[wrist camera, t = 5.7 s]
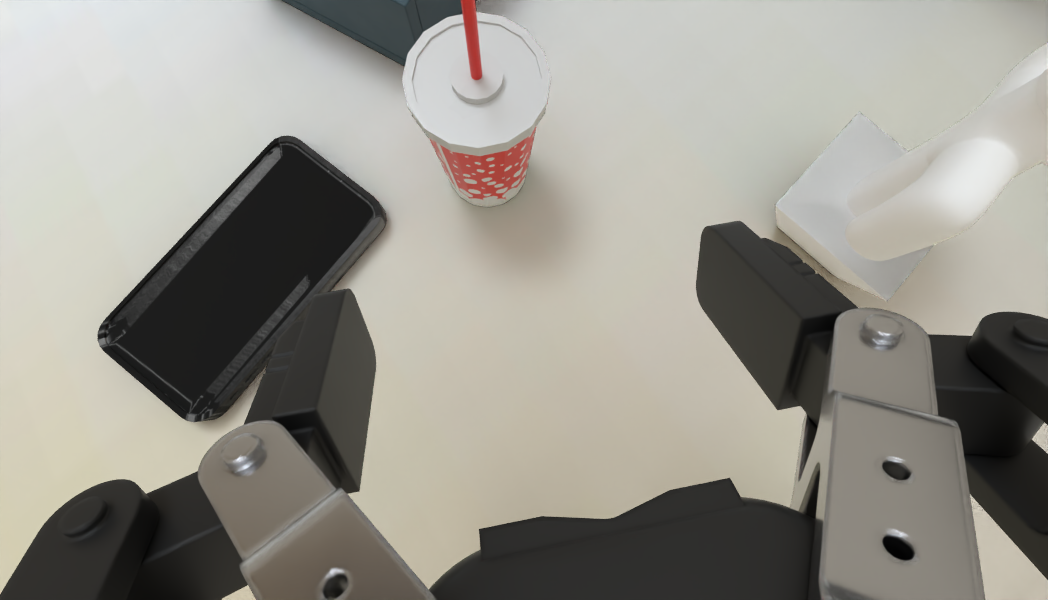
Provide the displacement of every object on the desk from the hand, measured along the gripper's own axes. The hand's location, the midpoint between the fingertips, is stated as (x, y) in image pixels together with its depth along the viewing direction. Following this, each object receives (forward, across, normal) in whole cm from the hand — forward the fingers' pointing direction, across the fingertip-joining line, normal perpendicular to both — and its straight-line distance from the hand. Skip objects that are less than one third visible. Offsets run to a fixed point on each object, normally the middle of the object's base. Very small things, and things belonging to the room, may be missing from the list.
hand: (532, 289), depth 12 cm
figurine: (+14, -19, +9) cm, 26 cm away
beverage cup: (+19, 0, +4) cm, 20 cm away
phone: (+16, +14, +7) cm, 23 cm away
